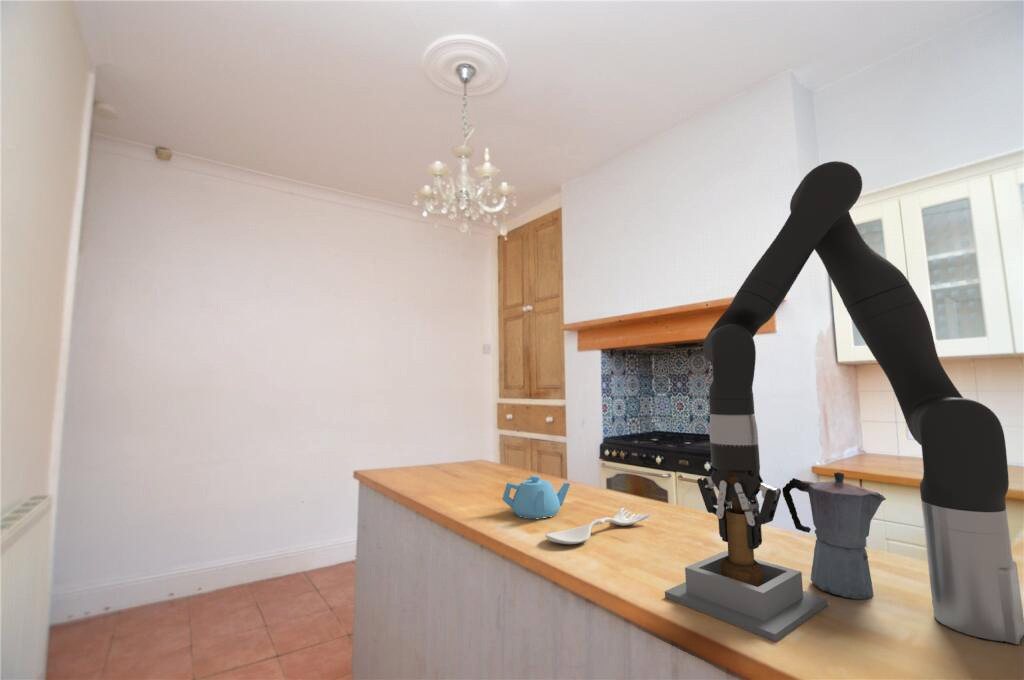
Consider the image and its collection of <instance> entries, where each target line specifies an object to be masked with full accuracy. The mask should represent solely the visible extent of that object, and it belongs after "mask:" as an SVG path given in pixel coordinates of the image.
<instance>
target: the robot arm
mask: <svg viewBox="0 0 1024 680" xmlns="http://www.w3.org/2000/svg"><path fill="white" fill-rule="evenodd" d="M862 178H863V177H862V176H861V173H860V172H859V170H858V169H857V168H856V167H855V166H853V165H852V164H850V163H847V162H844V161H838V160H835V161H829V162H825V163H821V164H820V165H817V166H816V167H815V168H813V169H812V170H810V171H809V172H808V173H807V174H806V175H805V176H804V177H803V179H802V180H801V181H800V184H798V186H797V187H796V189H795V191H794V193H793V195H792V196H791V199H790V202H789V211H790V213H789V216H788V217H787V219H786V221H785V223H784V224H783V226H782V228H780V231H779V232H778V234H777V235H776V237H775V238H774V239H773V240H772V242H771V243H770V245H769V246H768V248H767V249H766V250H765V252H764V253H763V254H762V255H761V257H760V258H759V260H758V261H757V263H755V265H754V267H753V268H752V269H751V271H750V272H749V274H748V276H746V278H745V279H744V281H743V283H742V284H741V286H740V287H739V289H738V290H737V292H736V294H735V295H734V297H733V299H732V302H730V304H729V306H728V307H727V309H726V310H724V312H723V313H722V314H721V316H720V317H719V319H718V320H717V321H716V323H714V325H712V328H711V329H710V330H709V332H708V333H707V335H706V337H705V338H704V341H703V344H702V345H703V346H702V350H703V354H704V356H705V357H704V358H706V359H707V360H708V362H709V363H711V364H712V381H711V383H710V385H709V389H708V397H709V399H708V400H709V401H708V402H709V414H710V415H709V417H710V418H709V443H710V444H709V445H710V459H711V461H710V463H711V467H712V473H711V474H710V476H703V477H700V478H697V479H696V481H697V482H696V483H697V484H698V489H699V491H700V494H701V498H702V499H703V500H702V501H703V503H704V505H705V509H706V511H707V512H708V513H710V514H713V515H715V516H716V517H717V520H718V532H719V533H718V534H719V537H720V538H721V540H722V542H725V543H728V538H727V521H726V509H728V508H733V505H732V502H731V501H732V497H735V498H736V500H737V502H738V503H740V504H741V507H742V510H743V511H744V512H745V515H746V518H747V521H748V524H749V525H747V531H748V546H749V548H751V549H754V550H755V549H758V548H759V547H760V546H762V543H763V536H762V535H763V534H762V525H766V524H767V523H768V524H769V523H771V522H773V521H774V518H775V515H776V512H777V508H778V504H779V501H780V496H781V495H782V491H781V488H779V487H778V486H775V487H773V486H770V485H768V484H766V483H764V481H763V479H762V477H761V473H760V472H761V471H760V469H761V464H760V463H761V461H760V460H761V459H760V449H759V448H760V447H759V446H760V445H759V437H758V435H759V433H758V431H759V430H758V425H757V421H756V417H755V416H756V414H755V401H754V400H755V399H754V392H753V387H754V386H753V385H754V379H755V369H756V361H757V360H756V358H757V357H756V356H757V353H756V352H757V351H756V349H757V348H756V343H755V340H754V336H755V335H756V334H757V332H758V331H759V330H760V329H761V328H762V327H763V326H764V325H765V324H767V323H768V322H769V321H770V320H771V319H772V318H773V316H774V315H775V313H776V312H777V310H778V308H780V306H781V305H782V302H783V301H784V300H785V298H786V296H787V295H788V293H789V292H790V290H791V288H792V287H793V285H794V284H795V282H796V280H797V278H798V277H799V275H800V273H801V272H802V270H803V268H804V267H805V265H806V263H808V260H809V259H810V257H811V256H812V254H813V252H814V251H815V252H816V254H817V255H818V257H819V259H820V260H821V262H822V264H823V266H824V268H825V270H826V272H827V274H828V276H829V278H830V280H831V282H832V284H833V286H834V288H835V289H836V291H837V294H838V295H839V297H840V299H841V301H842V303H843V305H844V308H845V309H846V311H847V313H848V315H849V316H850V318H851V320H852V322H853V324H854V326H855V328H856V329H857V331H858V333H859V335H860V336H861V337H862V339H863V341H864V343H865V344H866V346H867V348H868V349H869V351H870V352H871V354H872V356H873V357H874V359H875V361H876V362H877V363H878V365H879V366H880V368H881V370H882V371H883V372H884V374H885V376H886V378H887V379H888V381H889V383H890V385H891V387H892V390H893V392H894V395H895V397H896V399H897V402H898V405H899V407H900V410H901V412H902V415H903V417H904V420H905V422H906V425H907V428H908V431H909V432H910V435H911V436H912V438H913V439H914V440H915V441H916V443H918V444H919V445H920V446H921V453H922V454H921V455H922V465H923V476H922V479H921V481H920V483H919V492H920V493H919V495H920V499H921V508H922V518H923V529H924V537H925V546H926V554H927V556H926V557H927V565H928V573H929V574H928V575H929V584H930V593H931V604H932V610H933V616H934V619H936V621H937V622H939V623H941V625H944V626H946V627H947V628H949V629H952V630H954V631H957V632H959V633H962V634H965V635H968V636H973V637H976V638H980V639H985V640H990V641H998V642H1004V641H1005V643H1009V642H1010V643H1011V644H1014V645H1017V644H1019V643H1021V642H1022V640H1021V639H1023V638H1024V610H1023V602H1022V593H1021V589H1020V580H1019V572H1018V564H1017V562H1016V561H1014V559H1013V553H1012V544H1011V538H1010V537H1011V536H1010V530H1009V529H1010V528H1009V521H1008V513H1007V506H1006V505H1007V504H1006V496H1007V495H1008V494H1007V493H1008V491H1009V483H1010V482H1009V469H1008V468H1009V467H1008V457H1007V446H1006V444H1007V443H1006V437H1005V433H1004V429H1003V428H1004V427H1003V426H1002V423H1001V421H1000V419H999V418H998V416H997V415H996V413H994V411H993V410H992V409H991V408H989V407H988V406H986V405H984V404H983V403H981V402H979V401H976V400H973V399H968V398H964V397H963V396H962V394H961V393H960V391H959V390H958V389H957V387H956V385H955V384H954V383H953V382H952V380H951V378H950V377H949V375H948V374H947V372H946V370H945V369H944V367H943V364H942V363H941V361H940V358H939V356H938V352H937V349H936V344H935V340H934V336H933V331H932V328H931V323H930V320H929V316H928V315H927V311H926V310H925V307H924V306H923V304H922V302H921V299H920V298H919V297H918V295H917V293H916V292H915V290H914V288H913V287H912V285H911V283H910V282H909V280H908V279H907V277H906V276H905V275H904V273H903V272H902V270H900V269H899V268H898V267H897V266H895V264H893V263H892V262H891V261H889V260H888V259H887V258H886V257H885V256H882V255H881V254H880V253H878V252H877V251H876V250H874V249H873V248H872V247H871V246H869V244H867V242H866V241H865V240H864V238H863V237H862V235H861V234H860V232H859V230H858V228H857V226H856V225H855V223H854V220H853V218H852V216H851V214H850V210H851V209H852V208H853V206H854V205H855V204H856V203H857V201H858V200H859V198H860V196H861V193H862V191H863V179H862ZM730 472H733V473H735V474H736V475H737V476H738V479H739V481H738V482H737V483H735V485H734V486H732V485H731V484H730V483H729V482H728V480H727V474H728V473H730ZM714 488H716V489H717V491H718V495H716V491H715V489H714ZM760 491H761V497H762V498H763V502H762V504H761V508H760V504H759V500H758V497H757V496H758V494H759V493H760ZM1020 641H1021V642H1020ZM1019 645H1020V644H1019Z"/></svg>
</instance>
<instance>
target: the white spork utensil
mask: <svg viewBox="0 0 1024 680" xmlns="http://www.w3.org/2000/svg"><path fill="white" fill-rule="evenodd" d="M649 517H650V513H646V514H644V513H643V514H641V513H639V514H637V515H636V513H633V514H632V511H629V510H628V509H626V510H625V507H621V508H620V509H619V510H618V511H617V513H616V514H615V515H614V516H613V517H602V518H595V519H593V520H592V521H591V522H588V523H586V524H584V525H581V526H577V527H572V528H568V529H564V530H559V531H554V532H552V531H551V532H548V533H546V534H545V535H544V536H545V538H546V539H547V540H548V541H550V542H554V543H557V544H562V545H569V546H570V545H576V544H577V545H578V544H581V543H583V542H585V541H587V540H588V539H589V538H590V537H591V534H592V528H593V527H594V526H598V525H605V523H613V524H615V525H616V526H617V525H618V526H624V527H626V526H629V525H630V526H631V525H634V524H636V523H639V522H642V521H644V520H646V519H648V518H649Z"/></svg>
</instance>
